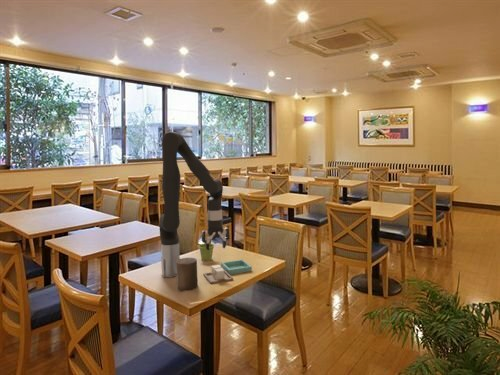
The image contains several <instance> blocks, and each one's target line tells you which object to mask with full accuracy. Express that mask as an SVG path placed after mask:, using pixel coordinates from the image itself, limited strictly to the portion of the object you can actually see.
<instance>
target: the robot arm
mask: <svg viewBox="0 0 500 375" xmlns="http://www.w3.org/2000/svg"><path fill="white" fill-rule="evenodd" d="M161 146H162V147H161V148H162V149H161V150H162V176H161V178H162V180H161V191H162V197H163V204H164V206H163V207H164V209H163V213H162V214H161V216H160V217H159V220H158V225H159V237H160V242H161V244H160V245H161V246H160V247H161V256H160V257H161V258H160V260H161V274H162V277H163V278H175V277H177V262H176V261H177V260H179V259H181V256H180V255H181V254H180V238H179V235H178V234H179V233H178V229H179V227H180V224H181V223H180V221H181V220H180V210H179V209H180V205H179V204H180V197H181V196H180V194H181V173H180V168H179V164H178V157H177V156H178V154H179V155H180V157H182V158H183V160H184V162H185V163H186V165H187V167H188V169H189V170H190V171H191V173H192V175H194V176H195V177H196V178H197V179H198V180H199V182H200V184H201V187H202V188H203V190H204V191H206V193H207V194H209V198H208V199H207V230H201V242H202V244H205V243H206V249H207V250H209V244H210V242H211V241H212V239H217V238H221V240H222V241H221V243H222V248H223V249H225V248H226V247H227V241H228V240H230V229H229V228H228V227H225V228H223V211H222V209H223V208H222V198H223V193H224V192H223V190H224V188H223V187H224V186H223V183H222V181H221V180H220V179H218V178H214V179H213V177H212V176H211V172H210V170H209V169H208V167H207V166H206V165H205V164H204V163H203V162H202V161H201V160H200V159H199V158H198V156H197V155H196V154H195V153H194V152H193V151H192V149H191V147H190V146H189V144H188V143H187V141H186V139H185V138H184V136H183V135H182V134H181V133H178V132H174V131H166V133H165V134H163V136H162V139H161ZM223 232H224V233H225V236H224V234H223ZM207 234H208V235H207Z"/></svg>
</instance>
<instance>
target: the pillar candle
mask: <svg viewBox="0 0 500 375" xmlns="http://www.w3.org/2000/svg"><path fill="white" fill-rule="evenodd" d="M176 262H177V275H176V278H177V279H176V281H177V282H176V283H177V290H178V291H180V292H186V291H187V292H188V291H192V290H196V289H197V288H198V287H199V286H198V261H197V258H195V257H182V258H180V259H179V260H177V261H176Z"/></svg>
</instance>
